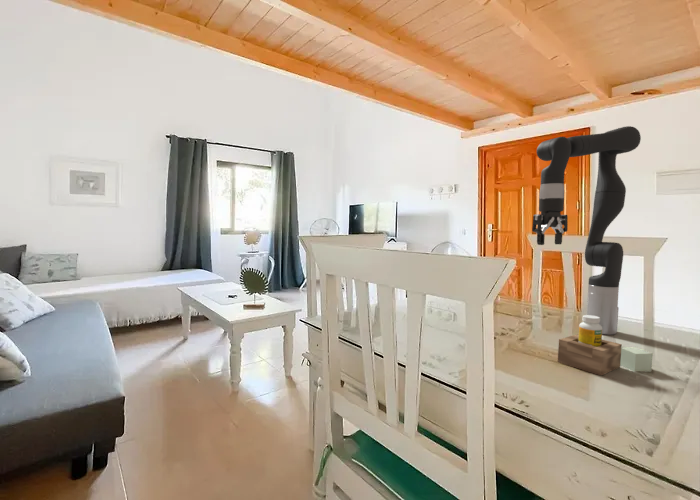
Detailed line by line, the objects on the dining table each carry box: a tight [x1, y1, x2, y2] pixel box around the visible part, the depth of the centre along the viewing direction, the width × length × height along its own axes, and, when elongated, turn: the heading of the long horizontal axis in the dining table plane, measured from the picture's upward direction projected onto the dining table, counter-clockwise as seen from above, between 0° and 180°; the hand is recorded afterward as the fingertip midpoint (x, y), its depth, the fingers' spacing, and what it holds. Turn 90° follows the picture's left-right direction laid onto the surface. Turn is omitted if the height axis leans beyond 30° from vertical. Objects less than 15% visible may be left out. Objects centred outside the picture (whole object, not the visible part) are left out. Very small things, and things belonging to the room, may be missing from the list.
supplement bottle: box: [578, 314, 603, 347], centre depth 100 cm, size 5×5×10 cm
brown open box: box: [557, 333, 623, 376], centre depth 101 cm, size 11×11×6 cm
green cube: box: [620, 346, 654, 372], centre depth 99 cm, size 5×5×5 cm
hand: (549, 244), depth 125 cm, fingers open, 8 cm apart
